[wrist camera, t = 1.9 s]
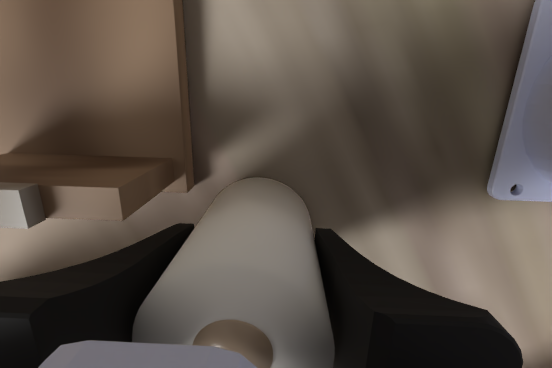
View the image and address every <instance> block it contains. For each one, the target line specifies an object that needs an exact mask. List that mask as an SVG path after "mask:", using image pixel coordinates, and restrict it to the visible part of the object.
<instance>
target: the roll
mask: <svg viewBox="0 0 552 368" xmlns="http://www.w3.org/2000/svg"><path fill="white" fill-rule="evenodd" d="M132 342H137V343H158V344H178V345H199V346H215V347H218V348H222V349H226V350H230V351H234V352H238V353H240V354H241V355H243V356H244V357H245V358H246V359H247V360H249V361H250V362H251V363H252V364H254V365H255V366H256V367H257V368H333V363H334V357H335V345H334V338H333V333H332V328H331V322H330V317H329V312H328V307H327V302H326V297H325V291H324V286H323V281H322V276H321V271H320V266H319V260H318V255H317V250H316V245H315V240H314V235H313V229H312V224H311V219H310V215H309V212H308V209H307V207H306V205H305V203H304V202H303V200H302V199H301V197H300V196H299V195H298V194H297V193H296V192H295V191H294V190H293V189H291V188H290V187H288V186H287V185H285V184H283V183H281V182H279V181H276V180H273V179H269V178H261V177H254V178H246V179H242V180H239V181H237V182H234V183H232V184H230V185H229V186H227V187H226V188H225V189H223V190H222V191H221V192H220V193H219V194H218V195H217V196H216V198H215V199H214V201H213V202H212V204H211V205H210V207H209V208H208V209H207V211H206V212H205V214H204V215H203V217H202V218H201V220H200V221H199V222H198V224H197V225H196V227H195V228H194V230H193V231H192V232H191V234H190V235H189V237H188V238H187V240H186V241H185V243H184V244H183V245H182V247H181V248H180V250H179V251H178V253H177V254H176V256H175V257H174V258H173V260H172V261H171V263H170V264H169V266H168V267H167V268H166V270H165V271H164V273H163V274H162V276H161V277H160V279H159V280H158V281H157V283H156V284H155V286H154V287H153V289H152V290H151V291H150V293H149V294H148V296H147V297H146V299H145V300H144V302H143V303H142V305H141V306H140V308H139V310H138V312H137V315H136V317H135V321H134V324H133V331H132Z"/></svg>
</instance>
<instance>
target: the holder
mask: <svg viewBox="0 0 552 368" xmlns="http://www.w3.org/2000/svg"><path fill="white" fill-rule="evenodd" d="M193 187H194V172H193V156H192V141H191V125H190V110H189V94H188V79H187V63H186V48H185V32H184V17H183V2H182V0H0V228H25V229H28V228H30V227H32V226H34V225H36V224H38V223H40V222H42V221H44V220H46V218H61V219H88V220H115V221H123V220H125V219H126V218H127V217H129V216H130V215H131V214H133V213H134V212H135V211H136V210H138V209H139V208H140V207H142V206H143V205H144V204H146V203H147V202H148V201H150V200H151V199H152V198H153V197H155V196H156V195H157V194H159V193H160V192H179V193H187V192H189V191H190V190H191V189H192V188H193Z"/></svg>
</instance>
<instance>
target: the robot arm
mask: <svg viewBox="0 0 552 368" xmlns="http://www.w3.org/2000/svg"><path fill="white" fill-rule="evenodd" d="M515 184H516V188H515V190H514V191H512V192H510V189H511V187H512V186H513V185H515ZM487 192H488V194H489V195H490V196H492V197H494V198H496V199H499V200H517V201H546V202H552V0H535V2H534V6H533V10H532V14H531V17H530V21H529V25H528V29H527V33H526V37H525V41H524V45H523V49H522V53H521V56H520V60H519V64H518V68H517V72H516V76H515V80H514V84H513V88H512V92H511V96H510V99H509V103H508V107H507V111H506V115H505V119H504V123H503V127H502V131H501V135H500V138H499V142H498V146H497V150H496V154H495V158H494V162H493V166H492V170H491V174H490V178H489V181H488V185H487ZM193 230H194V224H185V223H179V224H176V225H173V226H171V227H169V228H167V229H165V230H162V231H160V232H158V233H156V234H154V235H152V236H150V237H148V238H146V239H144V240H142V241H140V242H137V243H135V244H133V245H130V246H128V247H126V248H124V249H121V250H119V251H117V252H114V253H111V254H109V255H106V256H103V257H100V258H98V259H95V260H92V261H89V262H85V263H82V264H78V265H75V266H71V267H68V268H64V269H60V270H57V271H53V272H48V273H44V274H39V275H35V276H30V277H25V278H20V279H14V280H9V281H2V282H0V368H257V367H256V366H255V365H254V364H252V363H251V362H250V361H249V360H247V359H246V358H245V357H244V356H243V355H241V354H240V353H238V352H234V351H230V350H226V349H222V348H218V347H215V346H199V345H178V344H158V343H137V342H132V331H133V324H134V321H135V317H136V315H137V312H138V310H139V308H140V306H141V305H142V303H143V302H144V300H145V299H146V297H147V296H148V294H149V293H150V291H151V290H152V289H153V287H154V286H155V284H156V283H157V281H158V280H159V279H160V277H161V276H162V274H163V273H164V271H165V270H166V268H167V267H168V266H169V264H170V263H171V261H172V260H173V258H174V257H175V256H176V254H177V253H178V251H179V250H180V248H181V247H182V245H183V244H184V243H185V241H186V240H187V238H188V237H189V235H190V234H191V232H192V231H193ZM315 245H316V250H317V255H318V260H319V266H320V271H321V276H322V281H323V286H324V291H325V297H326V302H327V307H328V312H329V317H330V322H331V328H332V333H333V338H334V345H335V357H334V363H333V368H522V365H523V359H522V353H521V349H520V348H519V346H518V344H517V343H516V341H515V339H514V338H513V337H512V336H511V335H510V334H509V333H508V332H507V331H506V330H505V329H504V328H503V326H502V325H501V324H500V323H499V322H498V321H497V320H496V319H495V318H494V317H493V316H492V315H491V314H490V313H489V312H488V311H487V310H484V309H481V308H478V307H474V306H471V305H467V304H464V303H461V302H457V301H454V300H451V299H448V298H445V297H442V296H439V295H437V294H434V293H431V292H429V291H426V290H424V289H421V288H419V287H417V286H414V285H412V284H410V283H408V282H406V281H404V280H402V279H400V278H398V277H396V276H394V275H392V274H390V273H389V272H387V271H385V270H383V269H382V268H380V267H378V266H377V265H375V264H374V263H372V262H371V261H369V260H368V259H367V258H365V257H364V256H362V255H361V254H360V253H358V252H357V251H356V250H355V249H353V248H352V247H351V246H350V245H349V244H347V243H346V242H345V241H344V240H343V239H342V238H341V237H339V236H338V235H337V234H336V233H335V232H334V231H333V230H331V229H320V228H316V231H315Z"/></svg>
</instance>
